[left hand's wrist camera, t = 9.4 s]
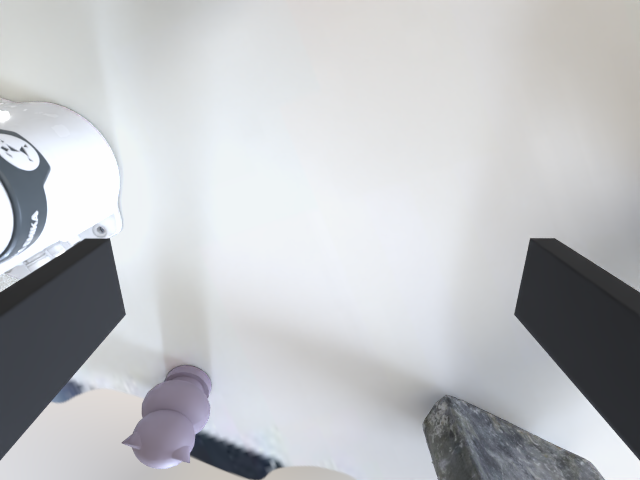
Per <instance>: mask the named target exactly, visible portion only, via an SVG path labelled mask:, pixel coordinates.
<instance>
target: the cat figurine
mask: <svg viewBox="0 0 640 480" xmlns="http://www.w3.org/2000/svg"><path fill="white" fill-rule="evenodd" d="M211 385H212V384H211V381H210V378H209V377H208V375H207V374H206V373H205V372H204V371H202V370H201V369H199V368H196V367H194V366H188V365H185V366H179V367H176V368H174V369H172V370H171V371H170V372H169V373H168V375H167V377H166V379H165V381H164V382H163V383H160V384H158V385H156V386H155V387H154V388H153V389H151V390H150V391H149V392H148V393H147V395H146V397H145V399H144V401H143V403H142V417H143V419H141V420H140V421H139V422H138V424H137V426H136V427H135V429H134V432H133V434H132V435H131V436H129V437H128V438H127V439H126V440H124V441H123V442H122V443H123V444H125V445H128V446H130V447H132V449H133V451H134V454H135V455H136V457H137V458H138V459H139V460H140V462H142V463H143V464H145V465H147V466H149V467H152V468H157V469H165V468H170V467H173V466H176V465H177V464H179V463H180V462H182V461H183V462H187V463H190V452H191V450H192V448H193V446H194V442H195V434H196V433H198V432H199V431H201V430H202V429H203V428H204V426H205V424H206V423H207V421H208V419H209V414H210V404H209V401H208V397H209V394H210V391H211Z"/></svg>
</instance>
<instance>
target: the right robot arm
mask: <svg viewBox="0 0 640 480" xmlns="http://www.w3.org/2000/svg"><path fill="white" fill-rule="evenodd" d="M119 189H120V175H119V169H118V165H117V161H116V159H115V156H114V154H113V151H112V149H111V148H110V146H109V144H108V143H107V141H106V140H105V138H104V137H103V136H102V134H101V133H100V132H99V131H98V130H97V129H96V128H95V127H94V126H93V125H92V124H91V123H90V122H89V121H88V120H86V119H85V118H84V117H82V116H81V115H79V114H78V113H76V112H74V111H72V110H70V109H68V108H66V107H63V106H61V105H58V104H54V103H49V102H39V101H38V102H23V103H17V102H12V101H9V100H6V99H3V98H0V275H1V274H3V273H5V274H7V275H9V276H12V277H15V278H18V279H22V278H24V277H25V276H27V275H29V274H30V273H32V272H33V271H35V270H36V269H38V268H40V267H41V266H43V265H44V264H46V263H47V262H49V261H51V260H52V259H54V258H55V257H57V256H58V255H60V254H62V253H63V252H65V251H66V250H68V249H69V248H71V247H73V246H74V245H76V244H77V243H79V242H80V241H82V240H84V239H85V238H110V237H111V236H113V235H115V234H117V233H119V232H120V231H121V229H122V220H121V216H120V212H119V209H118V195H119ZM100 227H102V228H103V229H104V232H103V231H101V230H100Z"/></svg>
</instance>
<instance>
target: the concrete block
mask: <svg viewBox="0 0 640 480" xmlns="http://www.w3.org/2000/svg"><path fill="white" fill-rule="evenodd" d="M423 431H424V434H425V437H426V442H427V444H428V447H429V450H430V454H431V457H432V463H433V465H434V468H435V471H436V474H437V477H438V478H437V479H438V480H605V479H604V478H603V477H602V475H601V474H600V473H599V471H598V470H597V469H596V468H595V466H594V465H593V464H592V463H591V462H589V461H588V460H586V459H584V458H582V457H580V456H578V455H576V454H574V453H571V452H569V451H567V450H565V449H563V448H560V447H558V446H556V445H554V444H552V443H550V442H548V441H546V440H544V439H542V438H540V437H538V436H536V435H533V434H531V433H529V432H527V431H525V430H523V429H521V428H519V427H517V426H515V425H513V424H511V423H509V422H507V421H505V420H503V419H501V418H498V417H496V416H494V415H492V414H490V413H488V412H486V411H484V410H482V409H479V408H477V407H475V406H473V405H471V404H469V403H467V402H465V401H462V400H459V399H457V398H455V397H452V396H448V395H445V396H444V397H443V398H442V399H441V400H439V401H437V402H436V404H435V405H434V406H433V408H432V410H431V411H430V413H429V414H428V416H427V417H426V419H425V420H424V422H423Z"/></svg>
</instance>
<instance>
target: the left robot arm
mask: <svg viewBox="0 0 640 480" xmlns="http://www.w3.org/2000/svg"><path fill="white" fill-rule="evenodd" d="M125 315H126V314H125V309H124V304H123V299H122V295H121V290H120V285H119V280H118V275H117V271H116V266H115V261H114V256H113V251H112V247H111V242H110V238H85V239H84V240H82V241H80V242H79V243H77V244H76V245H74V246H73V247H71V248H69V249H68V250H66V251H65V252H63V253H62V254H60V255H58V256H57V257H55V258H54V259H52V260H51V261H49V262H47V263H46V264H44V265H43V266H41V267H40V268H38V269H36V270H35V271H33V272H32V273H30V274H29V275H27V276H25V277H24V278H22V279H21V280H19V281H18V282H16V283H14V284H13V285H11V286H10V287H8V288H7V289H5V290H3V291H2V292H0V460H1V459H2V458H3V457H4V455H5V454H6V453H7V452H8V451H9V450H10V448H11V447H12V446H13V445H14V444H15V443H16V441H17V440H18V439H19V438H20V437H21V436H22V434H23V433H24V432H25V431H26V430H27V429H28V428H29V426H30V425H31V424H32V423H33V422H34V421H35V419H36V418H37V417H38V416H39V415H40V414H41V412H42V411H43V410H44V409H45V408H46V407H47V405H48V404H49V403H50V402H51V401H52V400H53V398H54V397H55V396H56V395H57V394H58V393H59V392H60V390H61V389H62V388H63V387H64V386H65V385H66V383H67V382H68V381H69V380H70V379H71V378H72V376H73V375H74V374H75V373H76V372H77V371H78V369H79V368H80V367H81V366H82V365H83V364H84V362H85V361H86V360H87V359H88V358H89V357H90V356H91V354H92V353H93V352H94V351H95V350H96V349H97V347H98V346H99V345H100V344H101V343H102V342H103V340H104V339H105V338H106V337H107V336H108V335H109V333H110V332H111V331H112V330H113V329H114V328H115V326H116V325H117V324H118V323H119V322H120V321H121V319H122V318H123V317H124V316H125ZM514 315H515V316H516V317H517V318H518V319H519V321H520V322H521V323H522V324H523V325H524V326H525V328H526V329H527V330H528V331H529V332H530V333H531V335H532V336H533V337H534V338H535V339H536V340H537V342H538V343H539V344H540V345H541V346H542V347H543V349H544V350H545V351H546V352H547V353H548V354H549V356H550V357H551V358H552V359H553V360H554V361H555V362H556V364H557V365H558V366H559V367H560V368H561V369H562V371H563V372H564V373H565V374H566V375H567V376H568V378H569V379H570V380H571V381H572V382H573V383H574V385H575V386H576V387H577V388H578V389H579V390H580V392H581V393H582V394H583V395H584V396H585V397H586V398H587V400H588V401H589V402H590V403H591V404H592V405H593V407H594V408H595V409H596V410H597V411H598V412H599V414H600V415H601V416H602V417H603V418H604V419H605V421H606V422H607V423H608V424H609V425H610V426H611V428H612V429H613V430H614V431H615V432H616V433H617V434H618V436H619V437H620V438H621V439H622V440H623V441H624V443H625V444H626V445H627V446H628V447H629V448H630V450H631V451H632V452H633V453H634V454H635V455H636V457H637V458H638V459H639V460H640V292H638V291H637V290H635V289H633V288H632V287H630V286H629V285H627V284H626V283H624V282H622V281H621V280H619V279H618V278H616V277H615V276H613V275H611V274H610V273H608V272H607V271H605V270H604V269H602V268H600V267H599V266H597V265H596V264H594V263H593V262H591V261H589V260H588V259H586V258H585V257H583V256H582V255H580V254H578V253H577V252H575V251H574V250H572V249H571V248H569V247H567V246H566V245H564V244H563V243H561V242H560V241H558V240H556V239H555V238H530V242H529V247H528V251H527V256H526V261H525V266H524V271H523V275H522V280H521V285H520V290H519V294H518V299H517V304H516V309H515V314H514Z"/></svg>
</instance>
